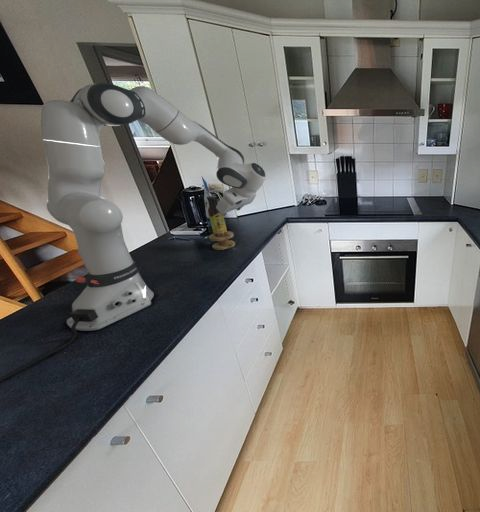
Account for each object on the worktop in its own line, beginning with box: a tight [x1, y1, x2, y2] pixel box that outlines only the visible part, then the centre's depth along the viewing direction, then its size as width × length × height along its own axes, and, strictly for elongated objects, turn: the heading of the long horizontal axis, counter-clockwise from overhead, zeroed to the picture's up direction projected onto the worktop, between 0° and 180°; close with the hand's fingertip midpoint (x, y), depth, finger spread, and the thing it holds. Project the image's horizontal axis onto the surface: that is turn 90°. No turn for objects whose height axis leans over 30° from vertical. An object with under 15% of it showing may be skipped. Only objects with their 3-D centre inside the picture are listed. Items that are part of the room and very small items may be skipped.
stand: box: [208, 230, 236, 251], centre depth 141 cm, size 11×11×6 cm
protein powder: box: [201, 176, 228, 235], centre depth 156 cm, size 10×24×30 cm, turn 36°
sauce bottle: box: [207, 195, 228, 237], centre depth 135 cm, size 7×6×20 cm
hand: (230, 212), depth 132 cm, fingers open, 8 cm apart
